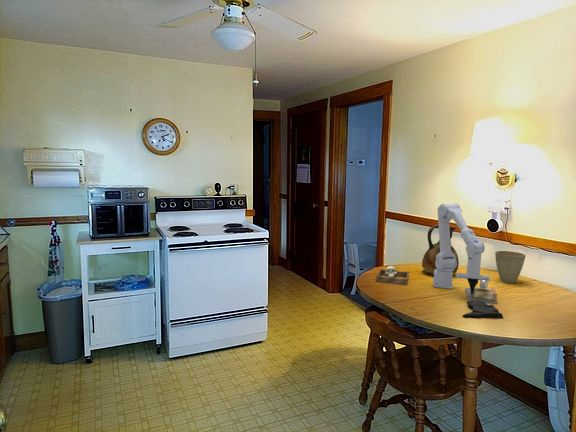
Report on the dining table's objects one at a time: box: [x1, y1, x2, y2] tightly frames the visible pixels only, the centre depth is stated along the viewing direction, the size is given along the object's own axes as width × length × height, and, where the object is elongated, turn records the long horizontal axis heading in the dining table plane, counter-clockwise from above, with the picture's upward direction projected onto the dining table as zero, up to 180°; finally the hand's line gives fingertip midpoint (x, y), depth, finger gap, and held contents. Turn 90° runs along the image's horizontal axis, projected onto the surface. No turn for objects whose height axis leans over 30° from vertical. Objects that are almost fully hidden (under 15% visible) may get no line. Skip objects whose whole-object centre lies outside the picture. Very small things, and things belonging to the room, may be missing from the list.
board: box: [464, 287, 498, 304], centre depth 197 cm, size 12×18×4 cm, turn 161°
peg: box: [479, 280, 489, 289], centre depth 201 cm, size 3×3×6 cm
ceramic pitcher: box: [421, 223, 460, 275], centre depth 236 cm, size 20×20×30 cm
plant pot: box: [494, 250, 527, 284], centre depth 223 cm, size 15×15×16 cm
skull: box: [384, 265, 398, 278], centre depth 224 cm, size 12×10×10 cm
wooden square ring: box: [473, 286, 493, 300], centre depth 193 cm, size 8×8×3 cm
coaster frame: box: [375, 268, 410, 286], centre depth 224 cm, size 16×16×3 cm
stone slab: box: [462, 300, 504, 320], centre depth 177 cm, size 22×16×5 cm
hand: (471, 293), depth 195 cm, fingers closed
